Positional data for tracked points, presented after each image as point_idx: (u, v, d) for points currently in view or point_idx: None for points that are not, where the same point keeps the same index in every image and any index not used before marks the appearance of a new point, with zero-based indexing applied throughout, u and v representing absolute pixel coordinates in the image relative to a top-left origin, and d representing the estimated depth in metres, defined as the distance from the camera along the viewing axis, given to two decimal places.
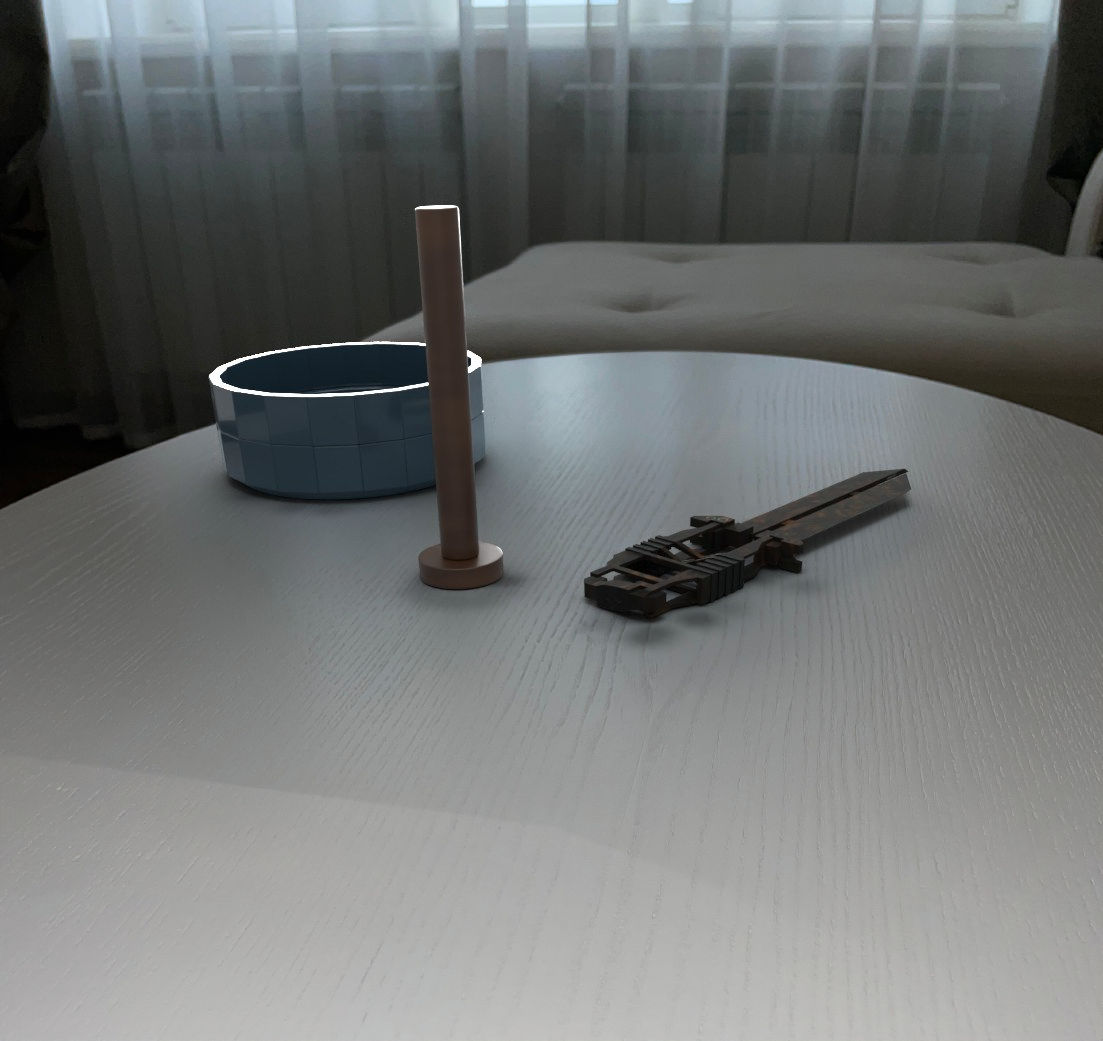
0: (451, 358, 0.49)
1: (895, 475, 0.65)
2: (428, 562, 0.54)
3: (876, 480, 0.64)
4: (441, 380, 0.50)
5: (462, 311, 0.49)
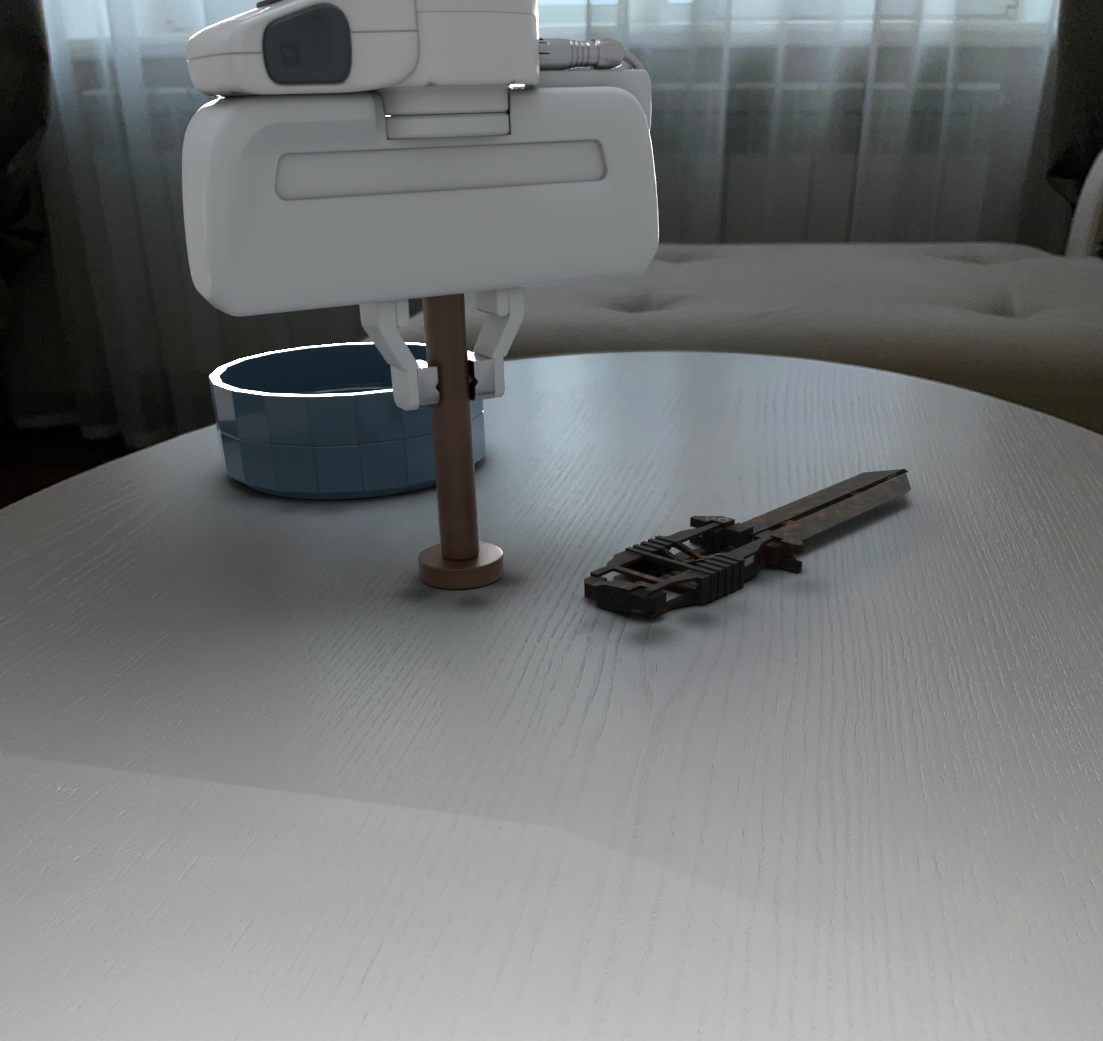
0: (451, 358, 0.49)
1: (895, 475, 0.65)
2: (428, 562, 0.54)
3: (876, 480, 0.64)
4: (442, 380, 0.50)
5: (462, 311, 0.49)
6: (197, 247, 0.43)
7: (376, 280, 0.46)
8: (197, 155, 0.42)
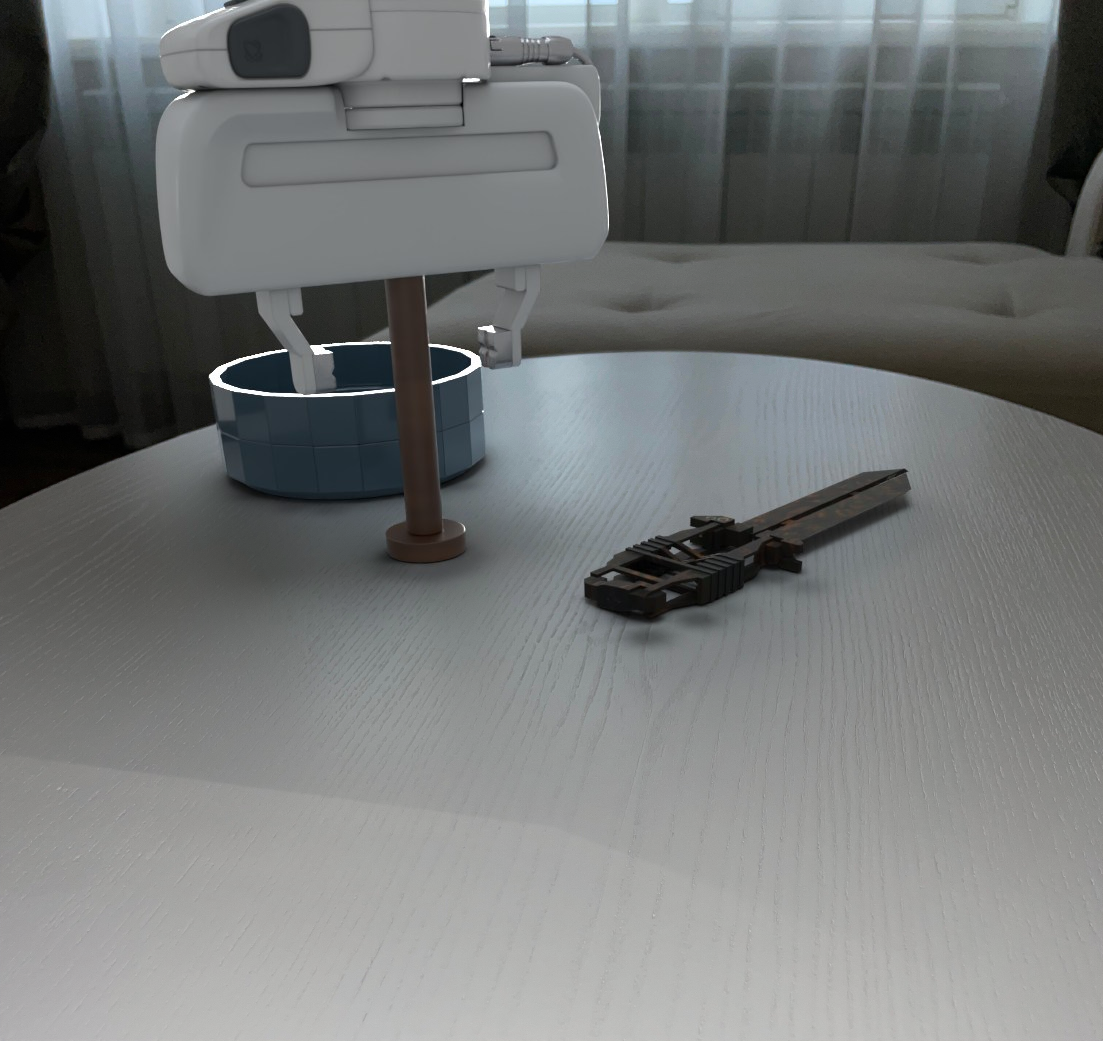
0: (413, 344, 0.53)
1: (895, 475, 0.65)
2: (394, 538, 0.57)
3: (876, 480, 0.64)
4: (404, 364, 0.53)
5: (423, 299, 0.52)
6: (169, 231, 0.47)
7: (338, 262, 0.49)
8: (168, 145, 0.45)
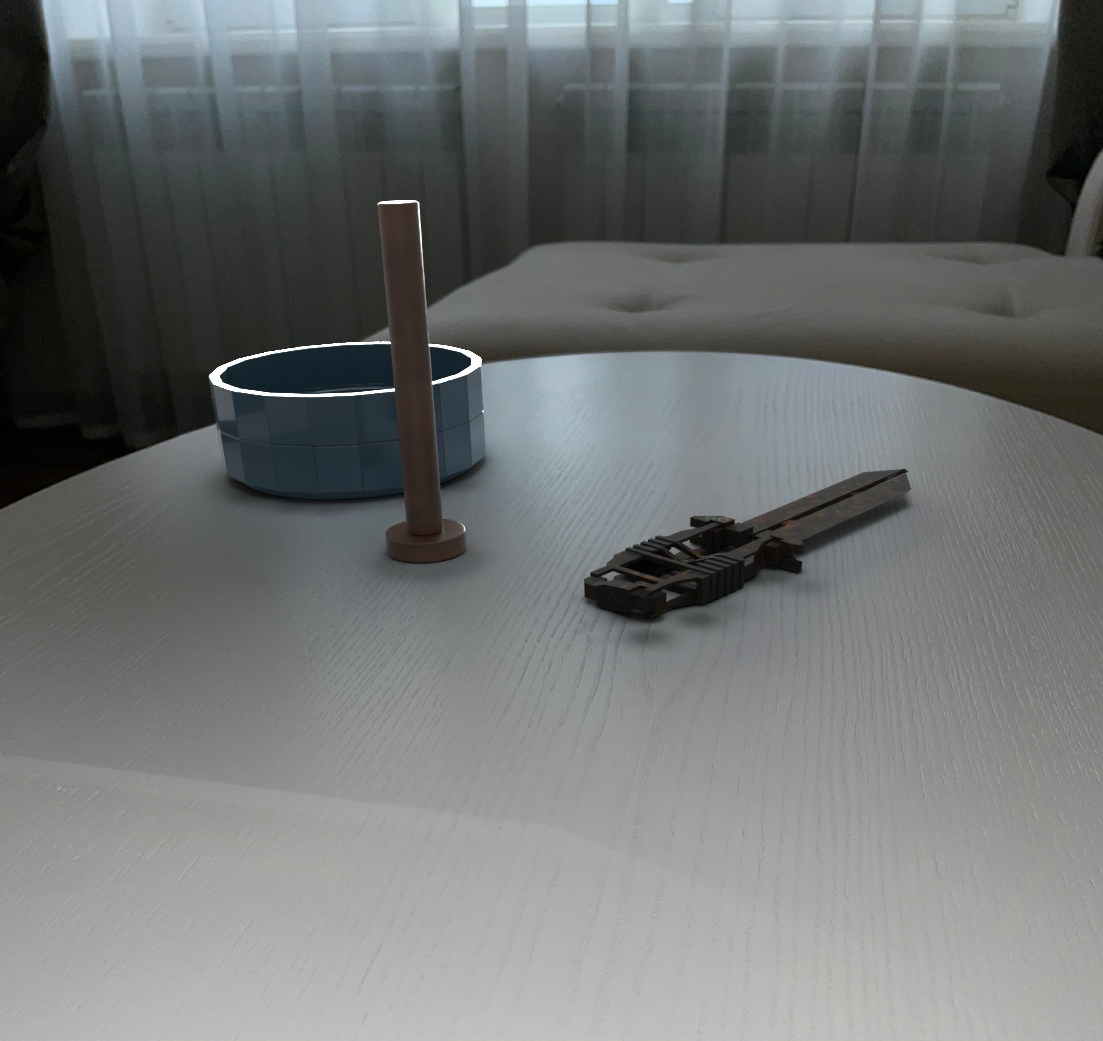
0: (413, 344, 0.53)
1: (895, 475, 0.65)
2: (394, 538, 0.57)
3: (876, 480, 0.64)
4: (404, 364, 0.53)
5: (423, 299, 0.52)
6: None
7: None
8: None
